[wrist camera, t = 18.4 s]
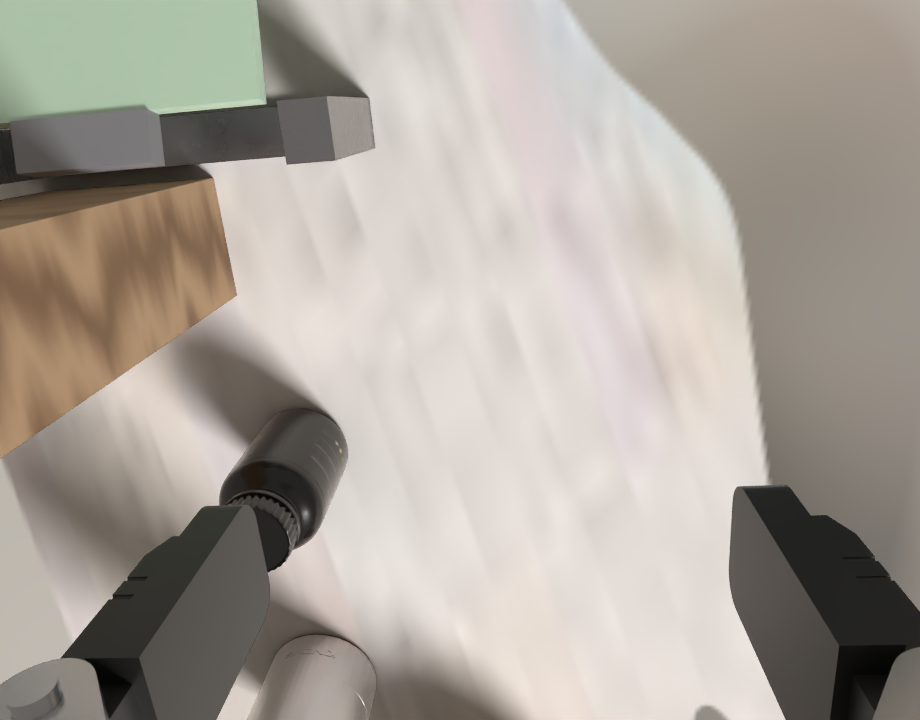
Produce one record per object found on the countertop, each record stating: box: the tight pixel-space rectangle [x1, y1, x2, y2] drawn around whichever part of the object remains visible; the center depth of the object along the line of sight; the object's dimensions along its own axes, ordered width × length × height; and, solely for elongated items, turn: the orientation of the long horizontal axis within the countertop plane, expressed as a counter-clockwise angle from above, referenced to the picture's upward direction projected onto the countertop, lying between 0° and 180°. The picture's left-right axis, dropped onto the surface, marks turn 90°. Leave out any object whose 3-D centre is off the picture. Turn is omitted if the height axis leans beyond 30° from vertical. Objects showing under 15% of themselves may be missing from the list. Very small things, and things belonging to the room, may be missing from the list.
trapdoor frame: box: [0, 96, 375, 184], centre depth 40 cm, size 3×24×10 cm, turn 95°
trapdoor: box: [0, 0, 267, 177], centre depth 33 cm, size 14×18×1 cm
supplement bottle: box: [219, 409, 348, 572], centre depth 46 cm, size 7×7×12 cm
